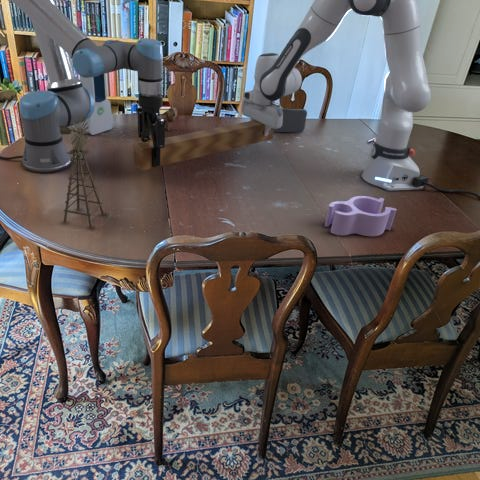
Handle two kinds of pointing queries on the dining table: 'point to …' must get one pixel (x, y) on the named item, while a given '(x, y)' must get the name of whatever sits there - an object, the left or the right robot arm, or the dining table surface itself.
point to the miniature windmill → (78, 148)
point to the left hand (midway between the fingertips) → (151, 162)
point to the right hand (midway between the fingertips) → (259, 132)
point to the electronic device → (98, 105)
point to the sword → (371, 140)
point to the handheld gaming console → (293, 120)
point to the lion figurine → (169, 116)
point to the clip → (359, 216)
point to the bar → (201, 143)
